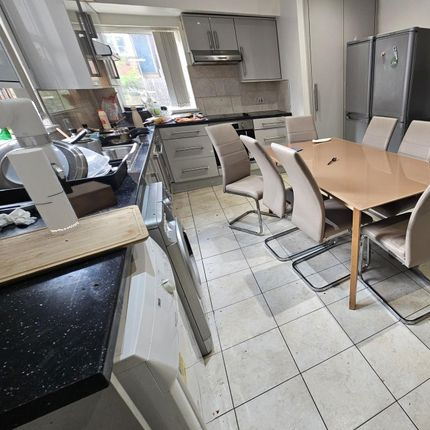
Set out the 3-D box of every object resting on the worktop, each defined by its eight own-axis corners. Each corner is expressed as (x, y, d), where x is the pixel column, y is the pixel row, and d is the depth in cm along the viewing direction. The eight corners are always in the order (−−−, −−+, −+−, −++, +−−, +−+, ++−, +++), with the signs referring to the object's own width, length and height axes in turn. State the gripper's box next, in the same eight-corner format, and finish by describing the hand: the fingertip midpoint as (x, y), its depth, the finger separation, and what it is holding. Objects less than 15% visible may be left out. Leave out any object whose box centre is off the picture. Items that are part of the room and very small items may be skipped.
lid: (64, 201, 88) (58, 187, 86) (48, 195, 94) (41, 182, 92) (111, 187, 99) (106, 175, 97) (93, 182, 105) (88, 171, 103)
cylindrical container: (85, 229, 85) (46, 149, 74) (57, 239, 79) (9, 155, 68) (76, 223, 88) (37, 147, 77) (48, 233, 83) (2, 152, 72)
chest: (77, 218, 92) (68, 200, 89) (60, 211, 98) (51, 194, 95) (118, 204, 102) (111, 187, 99) (100, 198, 108) (93, 182, 105)
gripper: (9, 141, 85) (36, 191, 93) (30, 145, 78) (58, 200, 85) (39, 137, 91) (63, 184, 99) (62, 140, 83) (86, 191, 91)
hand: (61, 191), depth 92 cm, fingers open, 9 cm apart
